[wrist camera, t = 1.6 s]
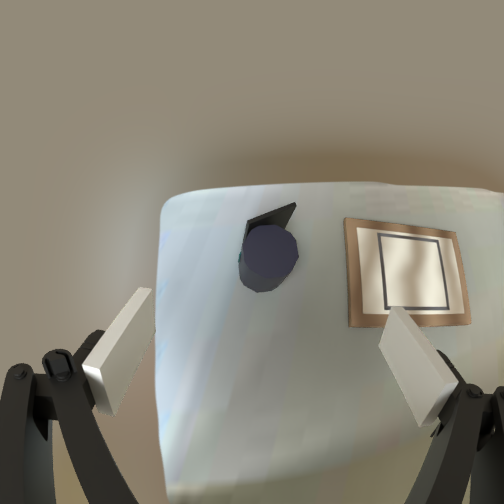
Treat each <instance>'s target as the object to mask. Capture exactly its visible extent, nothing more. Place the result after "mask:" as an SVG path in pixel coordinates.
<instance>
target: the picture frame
mask: <svg viewBox="0 0 504 504" xmlns="http://www.w3.org/2000/svg"><path fill="white" fill-rule="evenodd" d="M343 222H344V234H345V247H346V262H347V281H348V309H349V327H369V328H385V325H386V322H387V319H388V316H389V312H390V309H391V307H403V308H404V309H405V311H406V312H407V313H408V314H409V316H410V317H411V318H412V319H413V321H414V322H415V323H416V324H417V326H418V327H437V326H458V325H469V324H471V315H470V307H469V299H468V292H467V286H466V280H465V274H464V269H463V264H462V259H461V254H460V249H459V245H458V241H457V236H456V232H450V231H443V230H437V229H430V228H423V227H416V226H408V225H401V224H393V223H385V222H377V221H369V220H361V219H352V218H345V220H344V221H343Z"/></svg>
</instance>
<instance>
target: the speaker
mask: <svg viewBox="0 0 504 504" xmlns="http://www.w3.org/2000/svg"><path fill="white" fill-rule="evenodd" d="M296 206H297V205H296V203H295V202H294V203H291V204H289V205H286V206H283V207H281V208H278V209H276V210H273V211H270V212H268V213H265V214H263V215H260V216H258V217H255V218H253V219H250V220H247V225H246V229H245V234H244V239H243V244H242V249H241V252H240V254H239V260H238V262H239V273H240V280H241V281H242V283H243V284H244V285H245V286H247V287H248V288H250V289H252V290H254V291H255V292H266V291H272V290H274V289H275V288H277V287H278V286H279V285H280V284H281V282H282V281H283V280H284V279H285V278H286V277H287V276H288V275H289V273H290V272H291V271H292V269H293V267H294V265H295V263H296V261H297V259H298V257H299V255H298V249H297V244H296V240H295V238H294V237H293V236H292V234H291V233H290V232H288V231H286V230H284V229H285V227H286V225H287V223H288V221H289V219H290V217H291V215H292V213H293V211H294V210H295V208H296Z"/></svg>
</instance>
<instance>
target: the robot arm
mask: <svg viewBox="0 0 504 504" xmlns="http://www.w3.org/2000/svg"><path fill="white" fill-rule="evenodd" d="M155 332H156V329H155V318H154V305H153V291H152V289H149V288H141V287H139V288H138V289H137V291H136V292H135V293H134V295H133V296H132V297H131V298H130V300H129V301H128V302H127V304H126V305H125V306H124V308H123V309H122V310H121V312H120V313H119V314H118V316H117V317H116V318H115V319H114V321H113V322H112V324H111V325H110V326H109V328H108V329H107V330H106V331H103V330H96V331H95V332H93V333H91V334H90V335H89V336H88V337H87V338H86V340H85V341H84V343H83V344H82V345H81V347H80V348H79V349H78V350H77V352H76V353H75V354H74V355H73V356H72V355H71V353H70V352H69V351H67V350H64V349H55V350H52V351H49V352H48V353H46V354H45V355H44V357H43V358H42V364H43V367H44V370H45V372H46V374H35V373H34V372H33V369H32V368H31V366H29V365H28V364H24V363H21V364H16V365H14V366H12V367H11V368H10V369H9V370H8V372H7V375H6V378H5V382H4V386H3V391H2V395H1V400H0V504H56V499H55V488H54V476H53V456H52V420H58V421H59V425H60V428H61V431H62V434H63V438H64V441H65V444H66V447H67V450H68V453H69V456H70V458H71V461H72V464H73V467H74V469H75V472H76V474H77V477H78V479H79V482H80V484H81V486H82V488H83V491H84V493H85V495H86V498H87V500H88V502H89V504H139V503H138V502H137V500H136V498H135V497H134V495H133V493H132V492H131V490H130V489H129V487H128V485H127V483H126V481H125V480H124V478H123V476H122V474H121V472H120V471H119V469H118V467H117V465H116V463H115V461H114V459H113V457H112V455H111V453H110V451H109V449H108V447H107V445H106V443H105V440H104V438H103V436H102V434H101V432H100V429H99V427H98V425H97V422H96V420H95V417H94V415H93V413H92V409H93V407H94V405H95V404H96V407H97V409H98V412H99V413H103V414H106V415H110V416H115V415H116V412H117V410H118V408H119V406H120V404H121V401H122V399H123V397H124V395H125V393H126V391H127V389H128V387H129V385H130V383H131V381H132V378H133V376H134V374H135V372H136V370H137V368H138V366H139V364H140V362H141V360H142V358H143V356H144V354H145V352H146V350H147V348H148V346H149V344H150V342H151V340H152V338H153V336H154V334H155ZM378 347H379V348H380V350H381V352H382V354H383V356H384V358H385V360H386V362H387V364H388V365H389V367H390V369H391V371H392V373H393V375H394V377H395V379H396V381H397V383H398V385H399V387H400V389H401V391H402V393H403V395H404V397H405V399H406V401H407V403H408V405H409V407H410V409H411V411H412V413H413V416H414V418H415V420H416V422H417V424H418V426H419V427H424V426H429V425H432V424H433V423H434V421H435V420H436V418H437V417H439V419H440V421H441V422H440V423H439V425H438V426H437V427H436V429H435V430H434V432H433V433H432V434H431V436H430V437H433V435H434V437H433V440H432V443H431V445H430V448H429V451H428V453H427V456H426V458H425V461H424V463H423V465H422V468H421V470H420V472H419V475H418V477H417V479H416V481H415V483H414V485H413V488H412V490H411V492H410V494H409V496H408V498H407V500H406V502H405V503H404V504H462V501H463V498H464V495H465V491H466V488H467V485H468V481H469V477H470V474H471V489H470V504H504V386H499V387H497V389H496V390H495V392H494V393H493V394H484V393H483V391H482V389H480V388H479V387H478V386H476V385H474V384H466V382H465V381H464V379H463V378H462V377H461V375H460V374H459V372H458V371H457V370H456V368H454V366H453V364H452V363H451V361H450V360H449V359H448V357H447V356H446V355H445V354H443V353H442V352H441V351H440V350H436V349H435V348H434V347H433V345H432V344H431V343H430V341H429V340H428V339H427V337H426V336H425V335H424V334H423V332H422V331H421V330H420V328H419V327H418V326H417V324H416V323H415V322H414V321H413V319H412V318H411V317H410V316H409V314H408V313H407V312H406V311H405V309H404V308H403V307H391V309H390V312H389V316H388V319H387V322H386V325H385V328H384V331H383V334H382V337H381V340H380V343H379V345H378ZM494 429H495V432H494Z"/></svg>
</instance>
